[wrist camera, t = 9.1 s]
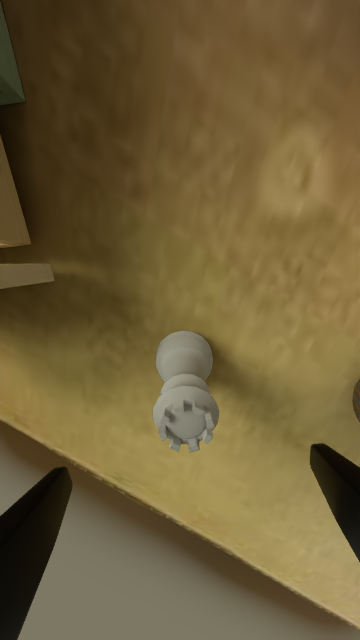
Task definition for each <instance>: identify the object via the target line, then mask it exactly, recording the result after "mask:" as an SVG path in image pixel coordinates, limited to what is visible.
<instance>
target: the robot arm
mask: <svg viewBox="0 0 360 640" xmlns="http://www.w3.org/2000/svg"><path fill="white" fill-rule="evenodd" d="M310 465H311V468H312V471H313V473H314V475H315V477H316V479H317V481H318V483H319V486H320V488H321V490H322V492H323V494H324V496H325V498H326V500H327V502H328V504H329V507H330V509H331V511H332V513H333V515H334V517H335V519H336V521H337V523H338V525H339V527H340V528H341V530H342V532H343V534H344V535H345V537H346V539H347V541H348V542H349V544H350V546H351V548H352V549H353V551H354V553H355V555H356V556H357V558H358V560H359V562H360V467H358V466H357V465H355V464H354V463H352V462H351V461H349V460H348V459H346V458H345V457H343V456H342V455H340V454H339V453H337V452H336V451H335V450H333V449H332V448H330V447H329V446H327V445H325V444H323V443H319V444H312V445H311V450H310ZM71 491H72V480H71V477H70V474H69V471H68V468H67V467H65V466H63V467H56V468H54V469H53V470H52V471H50V472H49V473H48V474H47V475H46V476H45V477H43V478H42V479H41V480H40V481H39V482H38V483H37V484H36V485H35V486H33V487H32V488H31V489H30V490H29V491H28V492H27V493H26V494H25V495H23V496H22V497H21V498H20V499H19V500H18V501H17V502H16V503H14V504H13V505H12V506H11V507H10V508H9V509H8V510H7V511H6V512H4V513H3V515H1V516H0V640H17V639H18V637H19V634H20V631H21V629H22V626H23V624H24V621H25V619H26V616H27V614H28V611H29V608H30V606H31V603H32V601H33V599H34V596H35V593H36V591H37V588H38V586H39V583H40V581H41V578H42V576H43V573H44V571H45V568H46V566H47V563H48V561H49V558H50V555H51V553H52V550H53V547H54V545H55V542H56V539H57V536H58V533H59V530H60V527H61V523H62V520H63V517H64V513H65V510H66V507H67V504H68V501H69V498H70V494H71Z"/></svg>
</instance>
